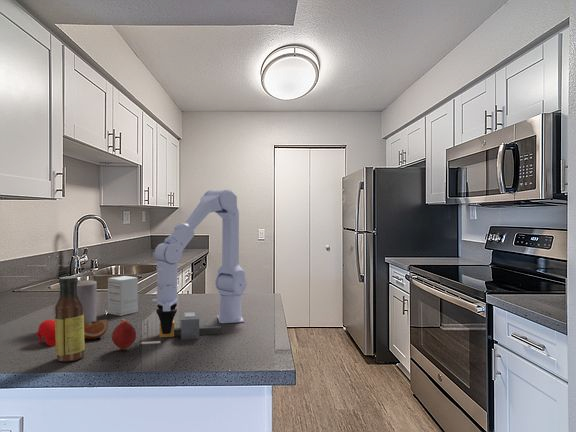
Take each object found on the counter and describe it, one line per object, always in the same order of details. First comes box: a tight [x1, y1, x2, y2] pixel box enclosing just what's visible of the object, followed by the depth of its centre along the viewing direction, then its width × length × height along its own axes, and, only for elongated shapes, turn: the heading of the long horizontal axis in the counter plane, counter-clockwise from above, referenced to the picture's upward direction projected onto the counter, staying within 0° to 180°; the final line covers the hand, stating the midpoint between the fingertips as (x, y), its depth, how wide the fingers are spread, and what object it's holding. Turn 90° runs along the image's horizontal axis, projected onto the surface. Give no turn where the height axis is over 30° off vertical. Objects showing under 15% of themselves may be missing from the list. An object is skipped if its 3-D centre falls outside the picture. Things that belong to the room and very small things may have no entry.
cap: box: [35, 319, 56, 347], centre depth 115 cm, size 8×6×6 cm
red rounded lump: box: [111, 318, 137, 351], centre depth 110 cm, size 6×6×8 cm
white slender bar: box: [140, 340, 162, 345], centre depth 116 cm, size 1×5×1 cm, turn 105°
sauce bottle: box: [54, 275, 85, 363], centre depth 103 cm, size 6×6×20 cm
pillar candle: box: [77, 278, 98, 323], centre depth 133 cm, size 10×10×15 cm
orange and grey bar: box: [159, 319, 222, 338], centre depth 125 cm, size 18×4×4 cm, turn 103°
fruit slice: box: [84, 318, 109, 340], centre depth 120 cm, size 8×7×5 cm
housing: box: [179, 310, 200, 341], centre depth 125 cm, size 11×5×6 cm, turn 15°
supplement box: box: [107, 275, 139, 317], centre depth 151 cm, size 7×7×13 cm
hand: (166, 330), depth 123 cm, fingers open, 5 cm apart
